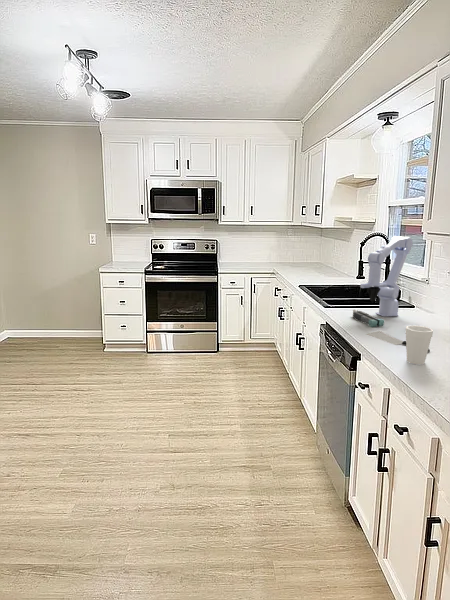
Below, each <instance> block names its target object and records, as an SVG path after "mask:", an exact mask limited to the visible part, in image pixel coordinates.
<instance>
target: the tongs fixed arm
mask: <svg viewBox="0 0 450 600" xmlns="http://www.w3.org/2000/svg"><path fill="white" fill-rule="evenodd" d="M352 317H353V316H352ZM353 319H354V320H357V321H359V322H361V321H362V322H361V323H363V322H364V324H366V325H368V327H371V328H377V327H378V326H377V321H376V320H374V319H371V318H369V317H367V316H364V315H363V314H361V313H358V312H354V317H353Z"/></svg>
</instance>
